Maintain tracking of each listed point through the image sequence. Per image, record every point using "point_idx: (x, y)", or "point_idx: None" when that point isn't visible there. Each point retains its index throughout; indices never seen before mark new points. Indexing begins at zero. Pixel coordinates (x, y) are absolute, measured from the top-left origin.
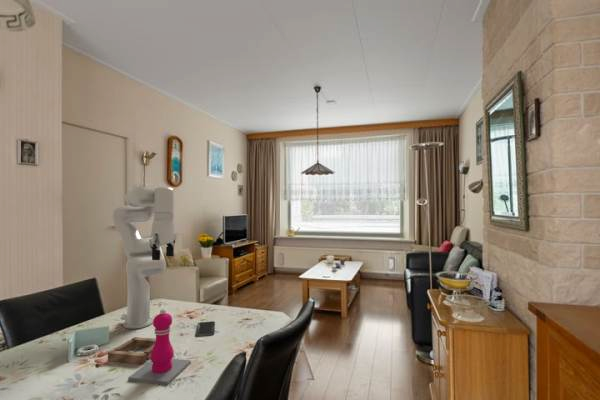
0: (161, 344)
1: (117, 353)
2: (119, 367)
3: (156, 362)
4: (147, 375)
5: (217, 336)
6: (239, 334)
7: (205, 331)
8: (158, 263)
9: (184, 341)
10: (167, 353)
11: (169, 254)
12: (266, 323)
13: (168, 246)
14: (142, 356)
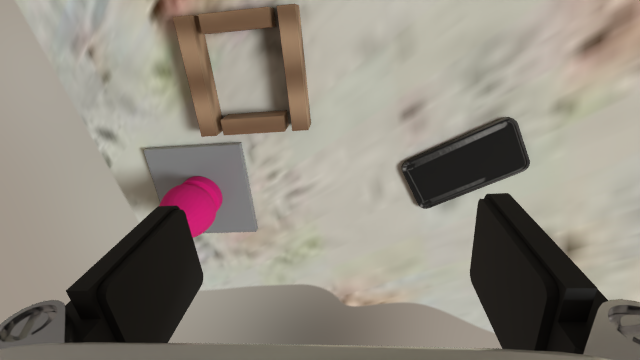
0: None
1: (181, 52)
2: (176, 81)
3: None
4: (167, 184)
5: (413, 220)
6: (436, 266)
7: (435, 178)
8: None
9: (360, 151)
10: None
11: (480, 255)
12: None
13: (561, 339)
14: (201, 134)
